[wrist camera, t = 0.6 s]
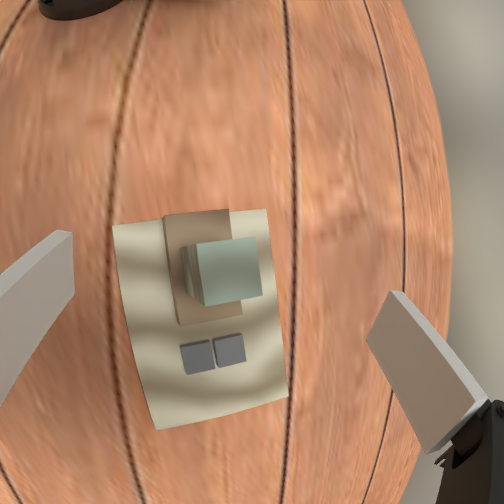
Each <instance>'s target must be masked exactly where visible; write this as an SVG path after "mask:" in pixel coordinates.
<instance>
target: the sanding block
mask: <svg viewBox="0 0 504 504" xmlns="http://www.w3.org/2000/svg"><path fill="white" fill-rule="evenodd" d="M162 221H163V230H164V239H165V247H166V254H167V261H168V269H169V275H170V282H171V288H172V295H173V301H174V307H175V312H176V318H177V322H178V323H179V325H180V326H181V327H182V326H188V325H193V324H198V323H203V322H209V321H214V320H219V319H224V318H229V317H233V316H238V315H243V312H242V305H241V300H243V299H248V298H253V297H258V296H263V292H262V285H261V277H260V269H259V262H258V254H257V246H256V239H255V237H247V238H239V239H232V231H231V223H230V216H229V209H222V210H212V211H202V212H192V213H183V214H174V215H165V216H164V217H163V219H162Z"/></svg>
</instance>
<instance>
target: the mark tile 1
mask: <svg viewBox="0 0 504 504" xmlns="http://www.w3.org/2000/svg"><path fill="white" fill-rule="evenodd" d="M180 349H181V354H182V359H183V364H184V368H185V372H186V374H187V375H190V374H195V373H200V372H204V371H209V370H213V369H215V364H214V358H213V353H212V347H211V342H210V341H209V340H208V339H207V340H203V341H198V342H192V343H187V344H182V345H180Z"/></svg>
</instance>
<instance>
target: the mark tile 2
mask: <svg viewBox="0 0 504 504" xmlns="http://www.w3.org/2000/svg"><path fill="white" fill-rule="evenodd" d="M212 342H213V347H214V353H215V358H216V364H217V366H218V367H219V368H222V367H226V366H230V365H234V364H238V363H242V362H246V361H247V360H246V353H245V347H244V340H243V335H242V334H241V333H235V334H231V335H226V336H222V337H217V338H212Z"/></svg>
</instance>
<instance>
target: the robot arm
mask: <svg viewBox="0 0 504 504" xmlns="http://www.w3.org/2000/svg"><path fill="white" fill-rule="evenodd" d="M121 1H122V0H38V4H39V8H40V11H41V12H42V14H43V15H45V16H46V17H49V18H52V19H58V20H69V19H77V18H82V17H86V16H90V15H93V14H96V13H99V12H102V11H104V10H106V9H108V8H110V7H112V6H114V5H116V4H118V3H119V2H121ZM74 294H75V284H74V267H73V232H68V231H63V230H58V229H57V230H55V231H54V232H53V233H51V234H50V235H49V236H47V237H46V238H45V239H43V240H42V241H41V242H39V243H38V244H37V245H35V246H34V247H33V248H32V249H30V250H29V251H28V252H27V253H25V254H24V255H23V256H22V257H20V258H19V259H18V260H17V261H15V262H14V263H13V264H12V265H11V266H9V267H8V268H7V269H6V270H5V271H4V272H2V273H1V274H0V408H1V406H2V404H3V402H4V401H5V399H6V397H7V395H8V393H9V392H10V390H11V388H12V386H13V385H14V383H15V381H16V380H17V378H18V376H19V375H20V373H21V371H22V370H23V368H24V366H25V365H26V363H27V362H28V360H29V358H30V357H31V355H32V354H33V352H34V351H35V349H36V348H37V346H38V345H39V343H40V342H41V340H42V339H43V337H44V336H45V334H46V333H47V331H48V330H49V328H50V327H51V326H52V324H53V323H54V321H55V320H56V319H57V317H58V316H59V314H60V313H61V312H62V310H63V309H64V308H65V306H66V305H67V304H68V302H69V301H70V300H71V298H72V297H73V296H74ZM365 340H366V342H367V343H368V345H369V347H370V349H371V351H372V352H373V354H374V356H375V358H376V360H377V361H378V363H379V365H380V367H381V369H382V370H383V372H384V374H385V376H386V378H387V380H388V382H389V383H390V385H391V387H392V389H393V391H394V393H395V395H396V397H397V398H398V400H399V402H400V404H401V406H402V408H403V410H404V412H405V414H406V416H407V418H408V420H409V422H410V424H411V426H412V428H413V430H414V432H415V434H416V436H417V438H418V440H419V442H420V444H421V446H422V448H423V450H424V452H425V454H428V453H431V452H435V451H437V450H440V449H441V448H442V447H443V446H444V445H445V444H446V443H447V442H448V441H449V440H450V439H451V441H452V443H453V445H452V446H451V447H450V448H449V449H448V450H447V451H446V452H445V453H443V454H442V455H441V456H440V457H439V458H438V459H437V460H436V461H435V463H434V464H436V465H437V464H438V463H439V462H440V461H441V460H443V459H446V460H445V461H444V462H443V463H442V464H441V465H440V466H441V467H443V468H444V471H443V476H442V480H441V485H440V489H439V493H438V497H437V501H436V504H504V402H503V401H500V400H494V401H493V402H492V403H491V402H490V400H489V399H488V397H487V396H486V394H485V392H484V391H483V390H482V389H481V387H480V386H479V384H478V383H477V382H476V380H475V379H474V378H473V376H472V375H471V374H470V372H469V371H468V370H467V368H466V367H465V366H464V364H463V363H462V362H461V361H460V359H459V358H458V357H457V355H456V354H455V353H454V352H453V350H452V349H451V348H450V347H449V346H448V344H447V343H446V342H445V341H444V339H443V338H442V337H441V336H440V334H439V333H438V332H437V331H436V330H435V328H434V327H433V326H432V325H431V324H430V323H429V321H428V320H427V319H426V318H425V317H424V316H423V314H422V313H421V312H420V311H419V310H418V309H417V307H416V306H415V305H414V304H413V303H412V302H411V301H410V300H409V298H408V297H407V296H406V295H405V294H404V293H403V292H400V291H393V290H390V291H389V293H388V295H387V297H386V299H385V302H384V304H383V306H382V308H381V310H380V312H379V314H378V316H377V318H376V320H375V322H374V324H373V326H372V328H371V330H370V332H369V334H368V336H367V338H366V339H365Z"/></svg>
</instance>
